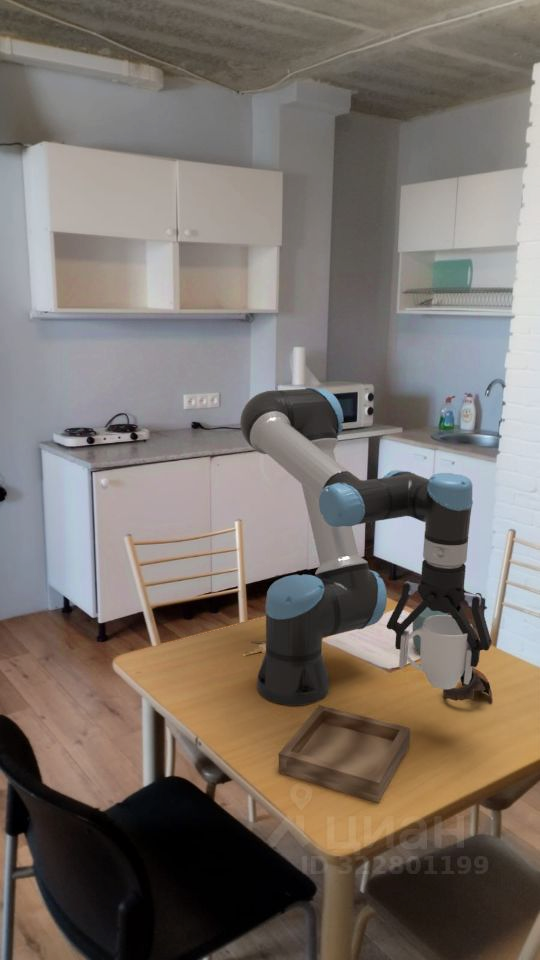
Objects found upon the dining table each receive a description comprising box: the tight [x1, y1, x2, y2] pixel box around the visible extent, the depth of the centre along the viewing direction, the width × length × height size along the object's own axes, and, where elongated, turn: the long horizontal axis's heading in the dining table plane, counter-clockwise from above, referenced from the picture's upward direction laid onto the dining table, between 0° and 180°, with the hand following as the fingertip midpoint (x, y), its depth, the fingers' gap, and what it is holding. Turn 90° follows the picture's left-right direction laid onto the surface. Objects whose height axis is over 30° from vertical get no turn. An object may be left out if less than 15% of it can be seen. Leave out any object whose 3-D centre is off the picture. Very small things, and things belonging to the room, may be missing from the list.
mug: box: [405, 614, 474, 690], centre depth 139 cm, size 12×9×12 cm
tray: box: [277, 704, 411, 804], centre depth 135 cm, size 18×18×4 cm
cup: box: [411, 607, 449, 653], centre depth 176 cm, size 8×8×10 cm
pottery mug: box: [442, 667, 493, 704], centre depth 157 cm, size 12×10×8 cm
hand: (434, 673), depth 140 cm, fingers closed on mug, 11 cm apart
